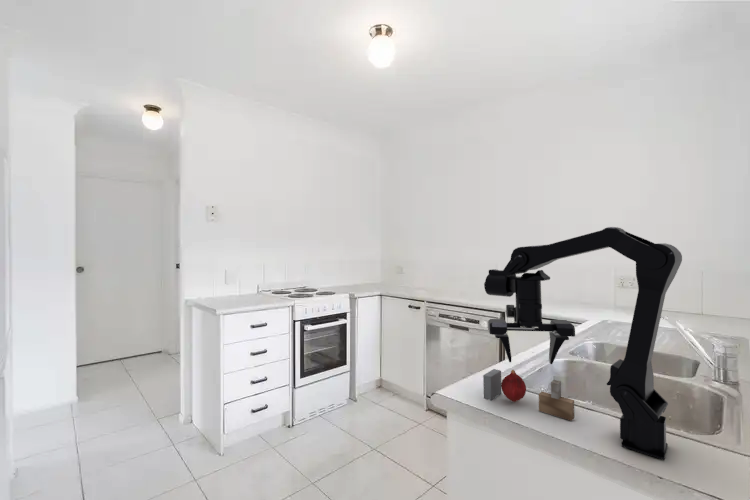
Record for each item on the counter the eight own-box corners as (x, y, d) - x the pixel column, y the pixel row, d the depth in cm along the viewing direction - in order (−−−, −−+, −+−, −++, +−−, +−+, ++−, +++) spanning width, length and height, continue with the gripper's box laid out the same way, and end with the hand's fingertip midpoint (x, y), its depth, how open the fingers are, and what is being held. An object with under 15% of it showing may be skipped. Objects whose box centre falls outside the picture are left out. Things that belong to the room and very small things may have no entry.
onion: (531, 406, 85) (530, 373, 85) (508, 408, 84) (508, 375, 84) (518, 396, 91) (518, 365, 91) (497, 397, 90) (497, 367, 90)
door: (574, 417, 79) (574, 384, 79) (571, 420, 78) (571, 387, 77) (541, 407, 84) (541, 376, 84) (538, 410, 82) (538, 379, 82)
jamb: (501, 393, 93) (501, 370, 93) (490, 400, 89) (490, 376, 89) (494, 390, 94) (493, 368, 94) (483, 398, 90) (483, 375, 90)
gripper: (560, 294, 90) (562, 354, 90) (485, 294, 95) (487, 351, 95) (574, 300, 79) (577, 369, 79) (489, 300, 84) (491, 365, 84)
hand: (530, 362), depth 85 cm, fingers open, 9 cm apart
